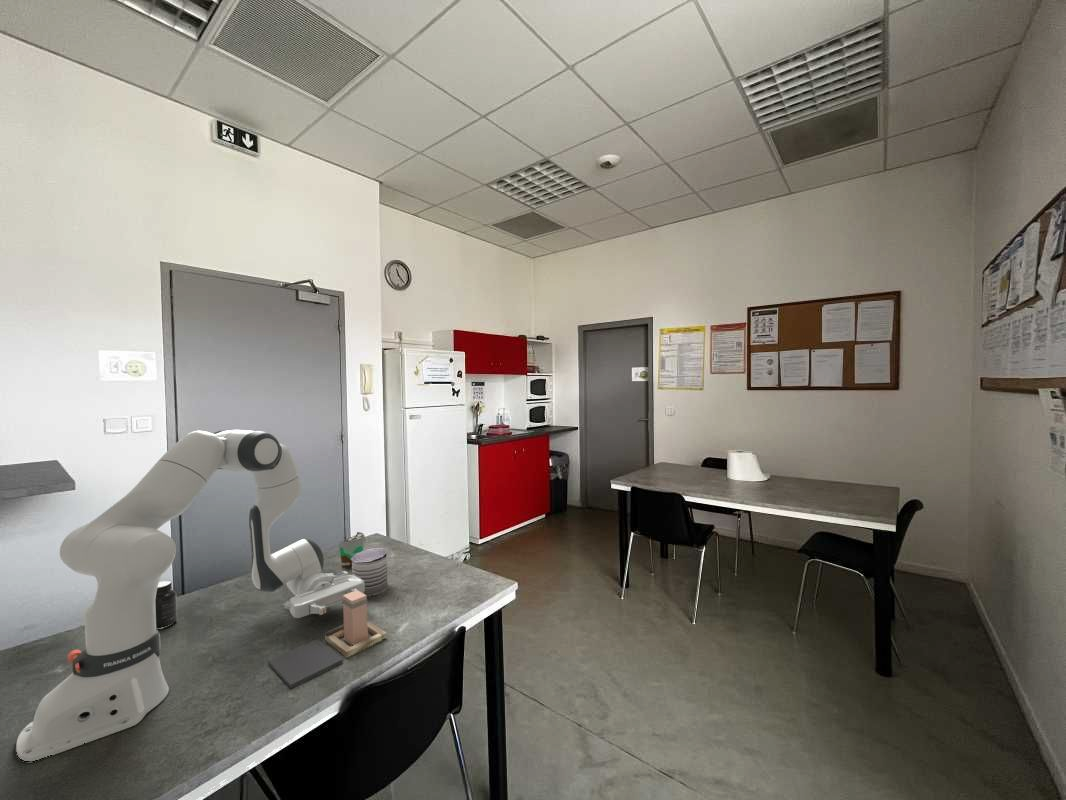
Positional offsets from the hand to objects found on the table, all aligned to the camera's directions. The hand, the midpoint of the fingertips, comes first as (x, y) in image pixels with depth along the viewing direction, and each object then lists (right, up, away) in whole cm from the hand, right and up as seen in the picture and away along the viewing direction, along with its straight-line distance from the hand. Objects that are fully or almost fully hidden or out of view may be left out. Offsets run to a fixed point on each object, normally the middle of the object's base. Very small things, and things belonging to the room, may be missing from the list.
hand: (340, 604), depth 124 cm
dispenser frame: (+6, -7, -5) cm, 11 cm away
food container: (-14, -6, +47) cm, 50 cm away
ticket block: (+6, -7, -5) cm, 11 cm away
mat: (-2, -7, -15) cm, 17 cm away
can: (-1, -6, +25) cm, 26 cm away
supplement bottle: (-53, -8, +4) cm, 54 cm away
